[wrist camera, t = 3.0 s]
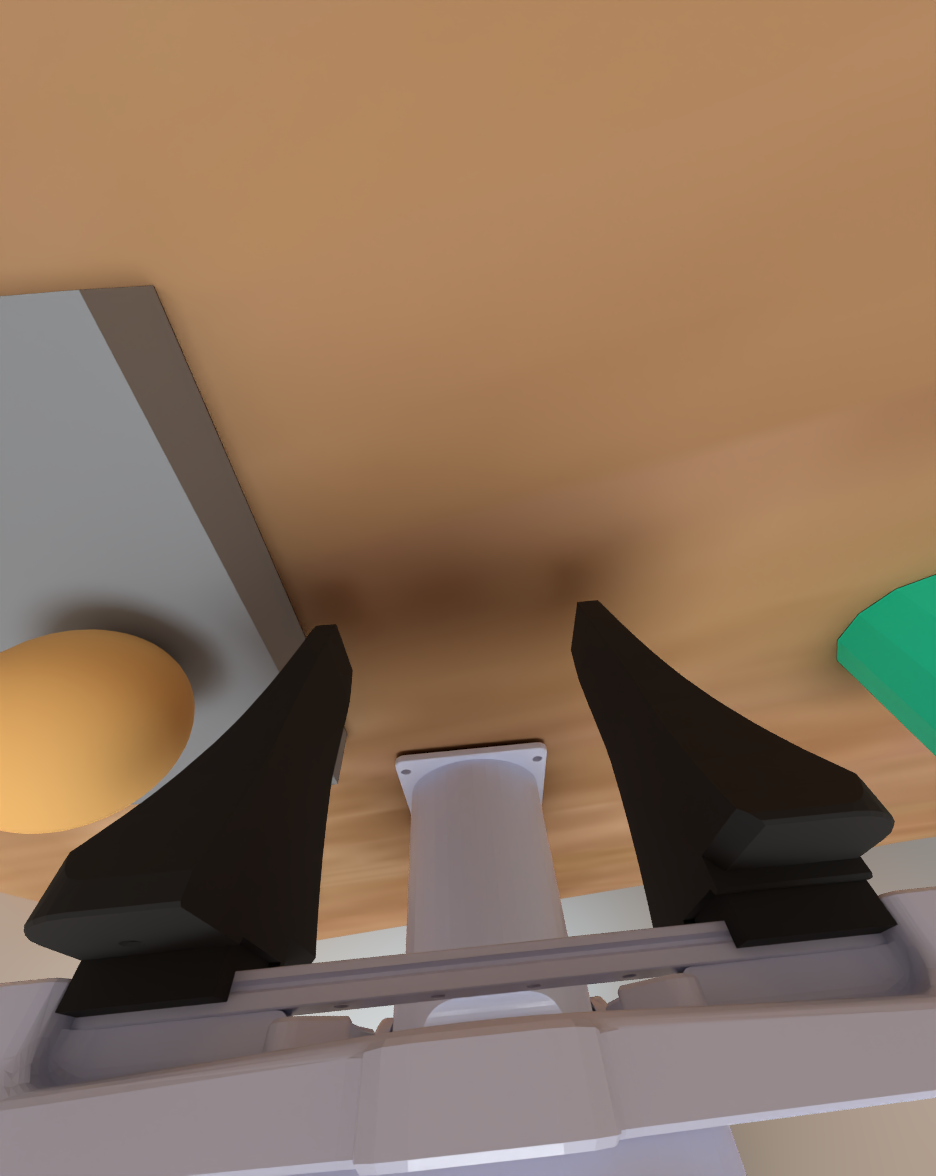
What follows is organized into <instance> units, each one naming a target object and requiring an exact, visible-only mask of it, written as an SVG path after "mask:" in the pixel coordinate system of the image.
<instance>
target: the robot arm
mask: <svg viewBox="0 0 936 1176" xmlns="http://www.w3.org/2000/svg"><path fill="white" fill-rule="evenodd" d="M571 652H572V656H573V660H574V664H575V668H576V671H577V675H578V679H579V682H580V684H581V687H582V689H583V692H584V694H585V697H586V699H587V702H588V704H589V707H590V709H591V712H592V714H593V717H594V719H595V722H596V724H597V727H598V729H599V732H600V734H601V737H602V739H603V741H604V744H605V746H606V749H607V752H608V755H609V758H610V761H611V764H612V767H613V771H614V774H615V778H616V781H617V784H618V788H619V791H620V795H621V798H622V802H623V806H624V809H625V813H626V817H627V820H628V824H629V828H630V832H631V836H632V840H633V843H634V847H635V851H636V855H637V859H638V863H639V867H640V872H641V876H642V880H643V885H644V889H645V893H646V897H647V901H648V906H649V911H650V915H651V920H652V925H653V928H649V929H641V930H640V929H639V930H630V931H620V932H611V933H601V934H591V935H581V936H572V937H568V935H567V930H566V925H565V920H564V915H563V911H562V905H561V901H560V896H559V891H558V886H557V881H556V876H555V871H554V866H553V861H552V856H551V851H550V846H549V841H548V836H547V831H546V826H545V821H544V816H543V811H542V798H543V788H544V778H545V767H546V757H547V750H546V746H545V744H543V743H540V742H534V743H524V744H514V745H504V746H493V747H483V748H473V749H463V750H453V751H443V752H432V753H422V754H412V755H403V756H400V757H398V758H397V759H396V762H395V768H396V771H397V774H398V777H399V780H400V783H401V786H402V789H403V792H404V795H405V798H406V801H407V804H408V807H409V810H410V813H411V833H410V858H409V884H408V909H407V934H406V935H407V936H406V954H399V955H389V956H379V957H370V958H360V959H351V960H341V961H331V962H322V963H312V962H313V960H314V959H315V958H316V938H317V923H318V907H319V893H320V881H321V869H322V858H323V848H324V839H325V830H326V821H327V813H328V805H329V797H330V789H331V783H332V778H333V773H334V768H335V764H336V760H337V755H338V751H339V747H340V742H341V738H342V734H343V729H344V725H345V720H346V716H347V712H348V707H349V702H350V694H351V683H352V671H353V670H352V667H351V664H350V662H349V659H348V656H347V653H346V650H345V647H344V645H343V642H342V639H341V636H340V633H339V630H338V627H337V625H336V624H333V625H322V626H316V627H315V628H314V629H313V630H312V631H311V633H310V634H309V635H308V636H307V638H306V639H305V640H304V642H303V643H302V644H301V646H300V647H299V648H298V649H297V651H296V652H295V653H294V655H293V656H292V657H291V659H290V660H289V661H288V662H287V664H286V665H285V666H284V667H283V669H282V670H281V671H280V672H279V673H278V675H277V676H276V677H275V678H274V680H273V681H272V682H271V683H270V684H269V686H268V687H267V688H266V689H265V690H264V691H263V693H262V694H261V695H260V696H259V697H258V698H257V699H256V700H255V702H254V703H253V704H252V705H251V706H250V707H249V708H248V709H247V710H246V712H245V713H244V714H243V715H242V716H241V717H240V718H239V719H238V720H237V721H236V722H235V723H234V724H233V725H232V726H231V727H230V728H229V729H228V730H227V731H226V732H225V733H224V734H223V735H222V736H221V737H220V738H219V739H218V740H216V741H215V742H214V743H213V744H212V745H211V746H210V747H209V748H208V749H206V750H205V751H204V752H203V753H202V754H201V755H200V756H198V757H197V758H196V759H195V760H194V761H193V762H191V763H190V764H189V765H188V766H187V767H186V768H184V769H183V770H182V771H181V772H180V773H179V774H177V775H176V776H175V777H174V778H173V779H171V780H170V781H169V782H167V783H166V784H165V785H164V786H162V787H161V788H160V789H159V790H157V791H156V792H155V793H153V794H152V795H151V796H149V797H148V798H147V799H145V800H144V801H143V802H142V803H140V804H139V805H138V806H136V807H135V808H133V809H132V810H131V811H129V812H128V813H127V814H125V815H124V816H122V817H121V818H120V819H118V820H117V821H115V822H114V823H112V824H111V825H109V826H108V827H106V828H105V829H104V830H102V831H101V832H99V833H98V834H96V835H95V836H93V837H92V838H90V839H89V840H88V841H86V842H85V843H83V844H82V845H80V846H79V847H77V848H76V849H74V850H73V851H71V852H70V853H69V855H68V856H67V858H66V859H65V861H64V862H63V864H62V866H61V867H60V869H59V870H58V872H57V874H56V875H55V877H54V879H53V880H52V882H51V883H50V885H49V887H48V888H47V890H46V891H45V893H44V895H43V896H42V898H41V899H40V901H39V903H38V904H37V906H36V907H35V909H34V911H33V912H32V914H31V915H30V917H29V919H28V920H27V922H26V924H25V925H24V933H25V936H26V937H27V938H28V939H29V940H30V941H32V942H34V943H36V944H38V945H41V946H43V947H46V948H49V949H51V950H54V951H57V952H59V953H62V954H65V955H68V956H71V957H73V958H76V959H79V960H81V962H80V964H79V966H78V968H77V970H76V972H75V974H74V976H73V978H72V979H65V978H47V979H38V980H28V981H18V982H9V983H0V1176H746V1173H745V1169H744V1167H743V1164H742V1161H741V1158H740V1155H739V1152H738V1149H737V1146H736V1143H735V1141H734V1138H733V1135H732V1132H731V1129H730V1126H729V1125H733V1124H741V1123H748V1122H755V1121H763V1120H771V1119H778V1118H786V1117H793V1116H801V1115H808V1114H816V1113H824V1112H831V1111H839V1110H846V1109H854V1108H861V1107H869V1106H876V1105H884V1104H891V1103H899V1102H907V1101H914V1100H921V1099H929V1098H936V887H926V888H917V889H907V890H899V891H892V892H888V893H884V894H881V895H879V896H877V894H876V893H875V891H874V890H873V888H872V887H871V886H870V884H869V883H868V882H867V880H868V879H871V878H872V877H873V876H872V872H871V871H870V869H869V868H868V866H867V865H866V864H865V863H864V861H863V860H862V858H861V857H860V856H861V855H863V854H864V853H866V852H867V851H868V850H869V849H871V848H872V847H874V846H875V845H876V844H878V843H879V842H880V841H882V840H883V839H884V838H885V837H886V836H888V835H889V834H890V833H891V831H892V829H893V826H894V822H895V821H894V819H893V817H892V815H891V814H890V813H889V812H888V811H887V809H886V808H885V807H884V806H883V805H882V803H881V802H880V801H879V800H878V799H877V797H876V796H875V795H874V794H873V793H872V791H871V790H870V789H869V788H868V787H867V786H866V784H865V783H864V782H863V781H862V780H861V779H860V778H859V777H858V776H857V774H855V773H853V772H851V771H849V770H847V769H845V768H843V767H840V766H838V765H836V764H834V763H832V762H830V761H828V760H825V759H823V758H821V757H819V756H817V755H815V754H813V753H810V752H808V751H806V750H804V749H802V748H800V747H798V746H796V745H794V744H792V743H790V742H789V741H787V740H785V739H783V738H781V737H779V736H777V735H775V734H773V733H771V732H769V731H768V730H766V729H764V728H762V727H761V726H759V725H757V724H755V723H753V722H752V721H750V720H748V719H747V718H745V717H743V716H742V715H740V714H738V713H737V712H735V711H733V710H732V709H730V708H728V707H727V706H725V705H724V704H722V703H721V702H719V701H717V700H716V699H714V698H713V697H711V696H710V695H708V694H707V693H706V692H704V691H703V690H701V689H700V688H698V687H697V686H695V685H694V684H693V683H691V682H690V681H688V680H687V679H686V678H684V677H683V676H682V675H680V674H679V673H678V672H676V671H675V670H674V669H673V668H671V667H670V666H669V665H668V664H666V663H665V662H664V661H663V660H662V659H660V658H659V657H658V656H657V655H656V654H654V653H653V652H652V651H651V650H650V649H649V648H648V647H647V646H645V645H644V644H643V643H642V642H641V641H640V640H639V639H638V638H636V637H635V636H634V635H633V634H632V633H631V632H630V631H629V630H628V629H627V628H626V627H625V626H624V625H623V624H622V623H621V622H620V621H619V620H618V619H616V618H615V617H614V616H613V615H612V614H611V613H610V612H609V611H608V610H607V609H606V608H605V607H604V606H603V605H602V604H601V603H600V602H599V601H598V600H596V601H585V602H577V608H576V616H575V624H574V631H573V639H572V646H571ZM653 977H657V978H653ZM643 978H653V979H648V980H644V981H639V982H635V983H631V984H627V985H622V986H620V987H619V989H618V995H619V998H617V999H615V1000H613V1001H611V1002H609V1003H608V1004H607V1003H606V1002H605V1001H604V1000H603V999H602V998H601V997H599V996H595V997H589V992H588V988H587V984H596V983H605V982H615V981H624V980H634V979H643ZM388 1005H394V1017H393V1018H386V1019H383V1020H382V1021H381V1023H380V1024H379V1026H378V1028H377V1030H376V1032H374V1031H373V1030H372V1029H368V1028H363V1027H359V1026H356V1025H354V1024H352V1021H351V1019H350V1018H349V1017H348V1016H294V1017H293V1015H303V1014H312V1013H321V1012H331V1011H341V1010H350V1009H359V1008H369V1007H377V1006H388Z"/></svg>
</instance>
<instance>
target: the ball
mask: <svg viewBox="0 0 936 1176" xmlns="http://www.w3.org/2000/svg"><path fill="white" fill-rule="evenodd" d="M194 714H195V703H194V695H193V691H192V688H191V684H190V682H189V680H188V678H187V676H186V674H185V672H184V671H183V669H182V668H181V666H180V665H179V664H178V663H177V662H176V661H175V660H174V659H173V658H172V657H171V656H170V655H169V654H168V653H167V652H165V651H164V650H163V649H161V648H160V647H158V646H157V645H155V644H153V643H151V642H149V641H147V640H144V639H142V638H139V637H137V636H134V635H130V634H126V633H122V632H116V631H108V630H97V629H88V630H70V631H64V632H58V633H52V634H48V635H44V636H41V637H37V638H34V639H31V640H28V641H25V642H23V643H20V644H18V645H16V646H14V647H11V648H9V649H7V650H5V651H2V652H1V653H0V831H5V832H12V833H22V834H40V833H50V832H59V831H64V830H69V829H73V828H77V827H81V826H85V825H88V824H91V823H93V822H96V821H99V820H101V819H104V818H106V817H108V816H110V815H112V814H114V813H116V812H118V811H120V810H123V809H124V808H126V807H127V806H129V805H130V804H132V803H134V802H135V801H137V800H138V799H140V798H141V797H143V796H144V795H145V794H146V793H148V792H149V791H150V790H151V789H153V788H154V787H155V786H156V785H157V784H158V783H159V782H160V781H161V780H162V779H163V778H164V777H165V776H166V775H167V774H168V772H169V771H170V770H171V769H172V767H173V766H174V765H175V764H176V762H177V760H178V759H179V757H180V756H181V754H182V752H183V751H184V749H185V747H186V745H187V742H188V740H189V738H190V734H191V731H192V727H193V723H194Z"/></svg>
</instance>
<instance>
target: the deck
mask: <svg viewBox="0 0 936 1176" xmlns="http://www.w3.org/2000/svg"><path fill="white" fill-rule="evenodd" d="M88 629H97V630H108V631H116V632H122V633H126V634H130V635H134V636H137V637H139V638H142V639H144V640H147V641H149V642H151V643H153V644H155V645H157V646H158V647H160V648H161V649H163V650H164V651H165V652H167V653H168V654H169V655H170V656H171V657H172V658H173V659H174V660H175V661H176V662H177V663H178V664H179V665H180V666H181V668H182V669H183V671H184V672H185V674H186V676H187V678H188V680H189V682H190V684H191V688H192V691H193V695H194V703H195V714H194V723H193V727H192V731H191V734H190V738H189V740H188V742H187V745H186V747H185V749H184V751H183V752H182V754H181V756H180V757H179V759H178V760H177V762H176V764H175V765H174V766H173V767H172V769H171V770H170V771H169V772H168V774H167V775H166V776H165V777H164V778H163V779H162V780H161V781H160V782H159V783H158V784H157V785H156V786H155V787H154V788H153V789H151V790H150V791H149V792H148V793H146V794H145V795H144V796H143V797H141V798H140V799H138V800H137V801H135V802H134V803H132V804H140V803H142V802H143V801H144V800H145V799H147V798H148V797H149V796H151V795H152V794H153V793H155V792H156V791H157V790H159V789H160V788H161V787H162V786H164V785H165V784H166V783H167V782H169V781H170V780H171V779H173V778H174V777H175V776H176V775H177V774H179V773H180V772H181V771H182V770H183V769H184V768H186V767H187V766H188V765H189V764H190V763H191V762H193V761H194V760H195V759H196V758H197V757H198V756H200V755H201V754H202V753H203V752H204V751H205V750H206V749H208V748H209V747H210V746H211V745H212V744H213V743H214V742H215V741H216V740H218V739H219V738H220V737H221V736H222V735H223V734H224V733H225V732H226V731H227V730H228V729H229V728H230V727H231V726H232V725H233V724H234V723H235V722H236V721H237V720H238V719H239V718H240V717H241V716H242V715H243V714H244V713H245V712H246V710H247V709H248V708H249V707H250V706H251V705H252V704H253V703H254V702H255V700H256V699H257V698H258V697H259V696H260V695H261V694H262V693H263V691H264V690H265V689H266V688H267V687H268V686H269V684H270V683H271V682H272V681H273V680H274V678H275V677H276V676H277V675H278V673H279V672H280V671H281V670H282V669H283V667H284V666H285V665H286V664H287V662H288V661H289V660H290V659H291V657H292V656H293V655H294V653H295V652H296V651H297V649H298V648H299V647H300V646H301V644H302V643H303V642H304V640H305V639H306V638H305V636H304V634H303V631H302V629H301V627H300V624H299V622H298V620H297V617H296V615H295V613H294V611H293V608H292V606H291V604H290V601H289V599H288V597H287V594H286V592H285V590H284V587H283V585H282V583H281V580H280V578H279V576H278V573H277V571H276V569H275V567H274V564H273V562H272V560H271V557H270V555H269V553H268V550H267V548H266V546H265V543H264V541H263V539H262V536H261V534H260V532H259V530H258V527H257V525H256V523H255V520H254V518H253V516H252V513H251V511H250V509H249V506H248V504H247V502H246V499H245V497H244V495H243V492H242V490H241V488H240V486H239V483H238V481H237V479H236V476H235V474H234V472H233V469H232V467H231V465H230V462H229V460H228V458H227V455H226V453H225V451H224V448H223V446H222V444H221V442H220V439H219V437H218V435H217V432H216V430H215V428H214V425H213V423H212V421H211V418H210V416H209V414H208V411H207V409H206V407H205V405H204V402H203V400H202V398H201V395H200V393H199V391H198V388H197V386H196V384H195V381H194V379H193V377H192V374H191V372H190V370H189V367H188V365H187V363H186V361H185V358H184V356H183V354H182V351H181V349H180V347H179V344H178V342H177V340H176V337H175V335H174V333H173V330H172V328H171V326H170V324H169V321H168V319H167V317H166V314H165V312H164V310H163V307H162V305H161V303H160V300H159V298H158V296H157V293H156V291H155V289H154V286H136V287H119V288H102V289H85V290H71V291H59V292H47V293H35V294H23V295H11V296H0V653H1V652H2V651H5V650H7V649H9V648H11V647H14V646H16V645H18V644H20V643H23V642H25V641H28V640H31V639H34V638H37V637H41V636H44V635H48V634H52V633H58V632H64V631H70V630H88ZM346 737H347V733H346V731H345V729H343V734H342V738H341V742H340V747H339V751H338V755H337V760H336V764H335V768H334V773H333V778H332V783H331V785H333V784H338V780H339V775H340V770H341V764H342V759H343V753H344V748H345V742H346ZM130 805H131V804H130Z"/></svg>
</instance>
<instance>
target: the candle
mask: <svg viewBox="0 0 936 1176" xmlns="http://www.w3.org/2000/svg"><path fill="white" fill-rule="evenodd" d="M837 661H838V662H839V663H840V664H841V665H842V666H843V667H845V668H846V669H847V670H848V671H849V672H850V673H851V674H852V675H853V676H854V677H855V678H856V679H857V680H858V681H859V682H860V683H861V684H862V685H863V686H864V687H865V688H866V689H867V690H868V691H869V692H870V693H871V694H872V695H873V696H874V697H875V698H876V699H877V700H878V701H879V702H881V703H882V704H883V705H884V706H885V707H886V708H887V709H888V710H889V711H890V712H891V713H892V714H893V715H894V716H895V717H896V718H897V719H898V720H899V721H900V722H901V723H902V724H903V725H904V726H905V727H906V728H907V729H908V730H909V731H910V732H911V733H912V734H913V735H914V736H916V737H917V738H918V739H919V740H920V741H921V742H922V743H923V744H924V745H925V746H926V747H927V748H928V749H929V750H930V751H931V752H932V753H933V754H934V755H935V756H936V575H934V576H931V577H928V578H925V579H923V580H920V581H917V582H914V583H912V584H909V585H906V586H903V587H901V588H898V589H895V590H894V591H892V592H891V593H890V594H888V595H887V596H885V597H884V598H882V599H881V600H879V601H878V602H876V603H875V604H873V605H872V606H870V607H869V608H867V609H866V610H864V611H863V612H861V613H860V614H858V615H857V617H856V618H855V619H854V620H853V622H852V623H851V624H850V625H849V627H848V628H847V629H846V630H845V632H844V633H843V634H842V635H841V637H840V638H839V639H838V644H837Z"/></svg>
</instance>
